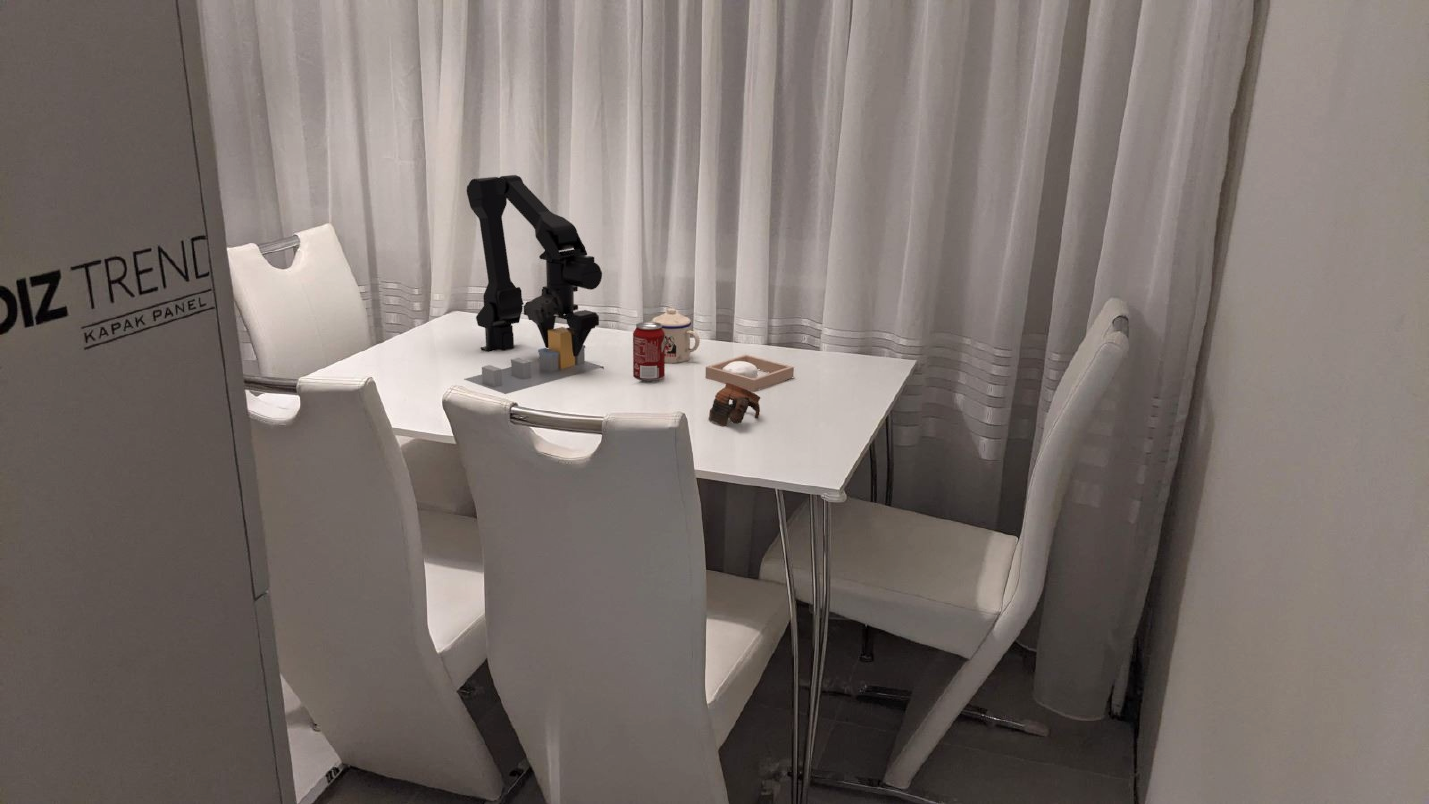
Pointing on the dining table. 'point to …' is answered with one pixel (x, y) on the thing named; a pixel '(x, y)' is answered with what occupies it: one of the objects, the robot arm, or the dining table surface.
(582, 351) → the grey board with pegs
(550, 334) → the orange rectangular block
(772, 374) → the garlic dish
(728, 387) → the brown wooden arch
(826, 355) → the dining table surface
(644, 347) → the soda can
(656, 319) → the teacup with lid
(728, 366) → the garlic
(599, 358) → the dining table surface
